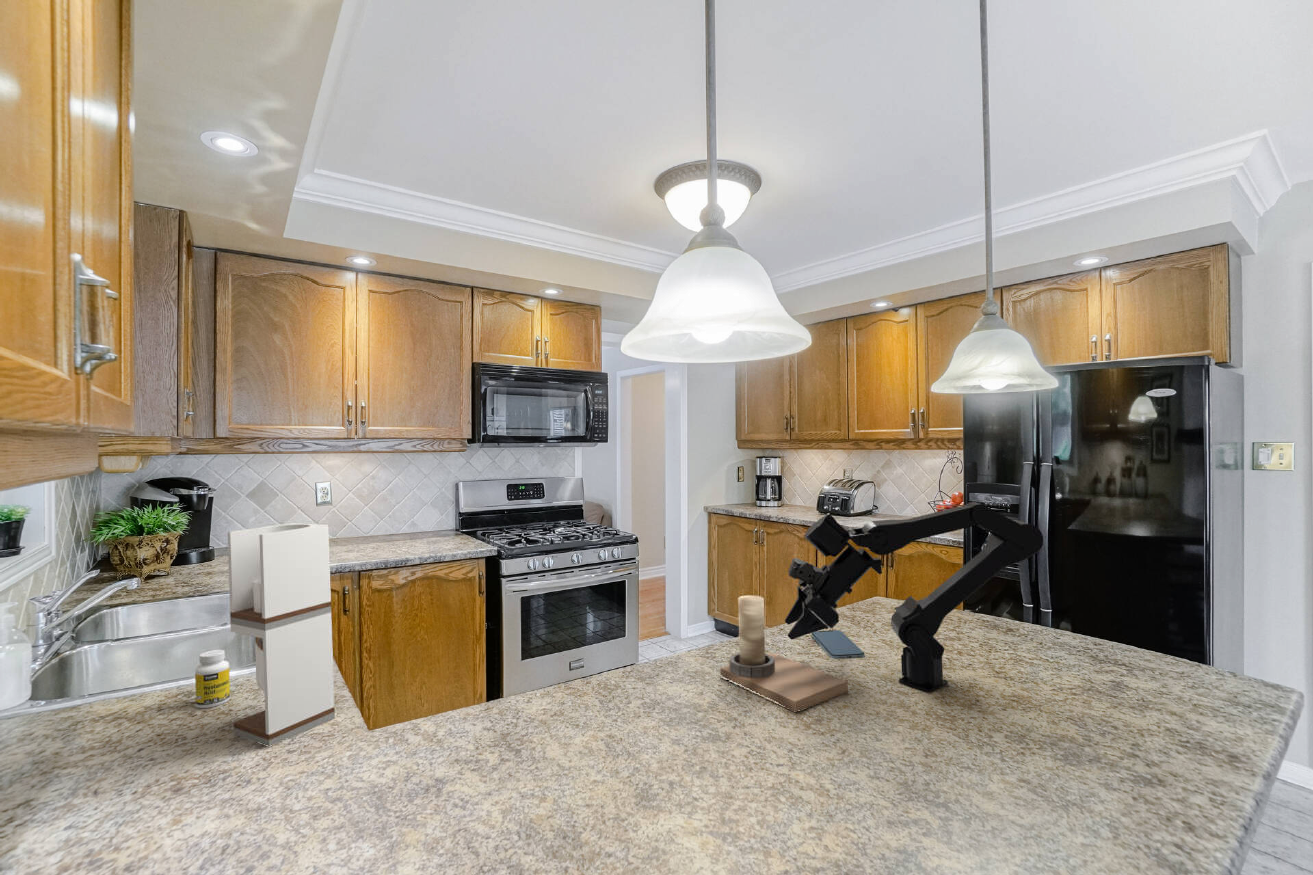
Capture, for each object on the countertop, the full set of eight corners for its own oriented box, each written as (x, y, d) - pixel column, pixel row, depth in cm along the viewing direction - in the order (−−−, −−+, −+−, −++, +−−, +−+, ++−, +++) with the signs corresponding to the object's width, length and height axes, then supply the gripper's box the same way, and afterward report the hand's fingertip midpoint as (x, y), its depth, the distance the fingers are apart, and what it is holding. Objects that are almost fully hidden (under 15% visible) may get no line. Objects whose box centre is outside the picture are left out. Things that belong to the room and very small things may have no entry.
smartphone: (831, 655, 130) (809, 631, 145) (832, 663, 130) (810, 638, 145) (866, 653, 130) (840, 629, 145) (866, 660, 130) (841, 636, 145)
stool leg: (768, 666, 121) (766, 596, 122) (760, 675, 117) (759, 602, 117) (744, 662, 124) (742, 594, 124) (736, 671, 119) (734, 600, 119)
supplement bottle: (201, 711, 114) (199, 659, 114) (191, 704, 118) (190, 654, 118) (234, 701, 119) (233, 651, 119) (224, 694, 122) (223, 646, 122)
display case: (299, 707, 115) (293, 522, 115) (334, 717, 110) (328, 524, 110) (234, 734, 105) (227, 532, 105) (269, 747, 100) (262, 534, 100)
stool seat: (847, 691, 113) (846, 670, 113) (795, 713, 105) (794, 689, 105) (770, 661, 129) (769, 642, 129) (720, 677, 122) (719, 658, 122)
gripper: (807, 536, 128) (756, 589, 129) (817, 553, 109) (757, 614, 111) (847, 573, 127) (795, 626, 128) (864, 597, 108) (803, 658, 110)
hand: (787, 629), depth 119 cm, fingers open, 9 cm apart
